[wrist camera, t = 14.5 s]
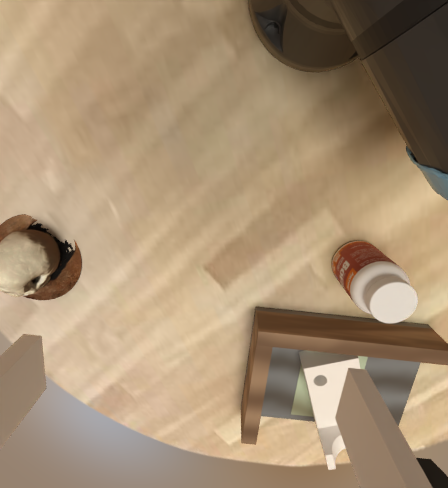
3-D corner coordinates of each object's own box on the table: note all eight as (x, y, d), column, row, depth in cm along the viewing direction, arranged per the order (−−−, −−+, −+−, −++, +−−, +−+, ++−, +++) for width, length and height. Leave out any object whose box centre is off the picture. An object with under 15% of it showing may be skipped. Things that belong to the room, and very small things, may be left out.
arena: (255, 306, 45) (258, 331, 39) (428, 324, 45) (455, 351, 39) (240, 408, 51) (241, 443, 45) (393, 424, 51) (413, 461, 45)
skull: (57, 321, 46) (-31, 324, 37) (38, 268, 51) (-42, 261, 43) (101, 261, 42) (15, 249, 34) (76, 211, 47) (-3, 190, 39)
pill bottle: (326, 246, 42) (356, 283, 32) (374, 233, 41) (422, 267, 31) (335, 288, 44) (367, 336, 33) (382, 276, 43) (429, 322, 33)
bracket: (362, 413, 49) (384, 461, 42) (315, 421, 50) (328, 469, 43) (349, 341, 45) (371, 380, 38) (298, 351, 46) (310, 391, 39)
